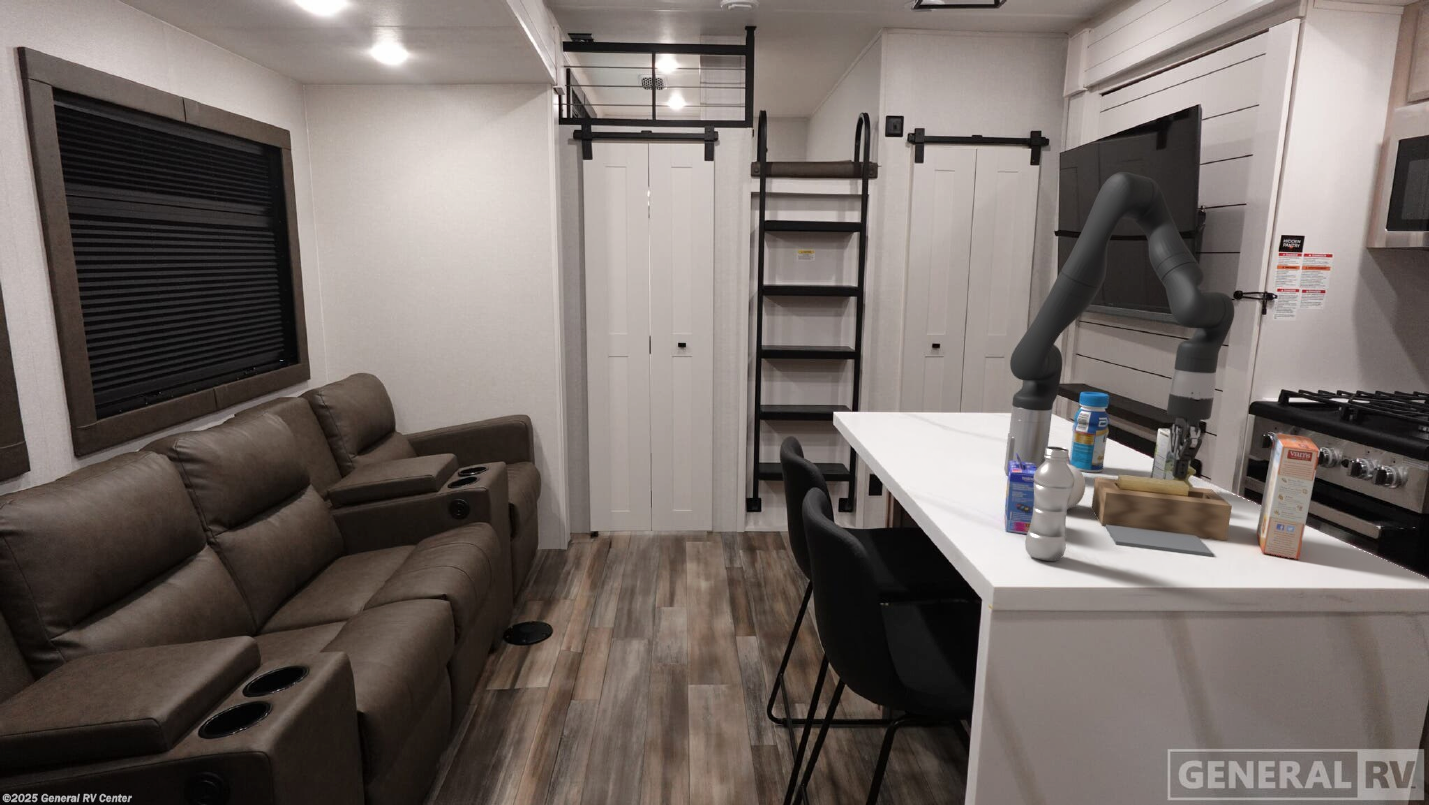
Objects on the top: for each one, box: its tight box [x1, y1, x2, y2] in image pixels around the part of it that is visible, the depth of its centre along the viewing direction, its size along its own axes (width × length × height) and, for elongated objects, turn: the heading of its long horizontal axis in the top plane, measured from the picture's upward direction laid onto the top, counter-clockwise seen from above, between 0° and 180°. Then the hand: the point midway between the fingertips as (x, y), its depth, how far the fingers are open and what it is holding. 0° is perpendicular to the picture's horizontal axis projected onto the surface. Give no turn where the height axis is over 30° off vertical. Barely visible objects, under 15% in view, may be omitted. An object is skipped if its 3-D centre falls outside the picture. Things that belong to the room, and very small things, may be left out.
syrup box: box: [1150, 428, 1192, 480], centre depth 180 cm, size 6×6×14 cm
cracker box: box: [1256, 433, 1321, 560], centre depth 143 cm, size 14×6×21 cm, turn 148°
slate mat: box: [1105, 525, 1214, 557], centre depth 145 cm, size 16×10×1 cm, turn 73°
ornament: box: [1066, 454, 1086, 510], centre depth 163 cm, size 10×10×12 cm
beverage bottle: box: [1069, 391, 1110, 473], centre depth 197 cm, size 8×8×20 cm
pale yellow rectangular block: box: [1117, 474, 1189, 497], centre depth 155 cm, size 12×4×6 cm, turn 73°
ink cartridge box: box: [1004, 453, 1037, 535], centre depth 150 cm, size 10×6×14 cm, turn 161°
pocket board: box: [1090, 476, 1233, 541], centre depth 156 cm, size 22×12×7 cm, turn 73°
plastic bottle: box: [1024, 445, 1074, 562], centre depth 133 cm, size 6×7×20 cm
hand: (1179, 477), depth 153 cm, fingers closed
